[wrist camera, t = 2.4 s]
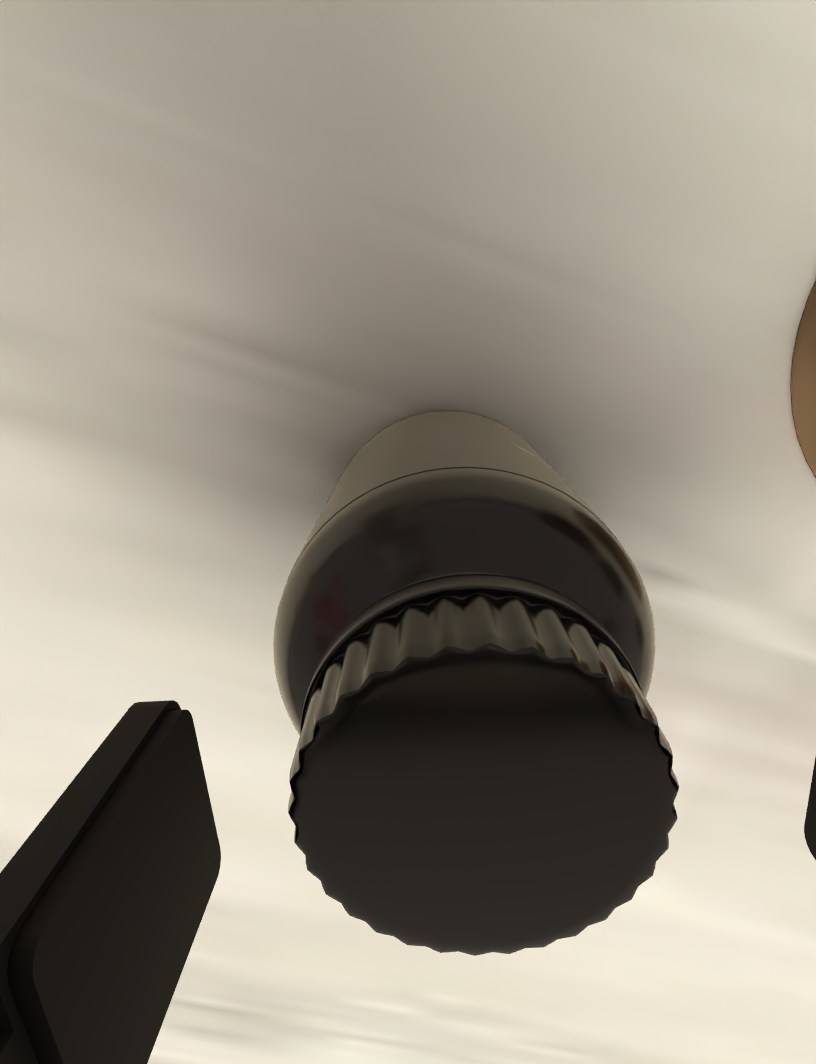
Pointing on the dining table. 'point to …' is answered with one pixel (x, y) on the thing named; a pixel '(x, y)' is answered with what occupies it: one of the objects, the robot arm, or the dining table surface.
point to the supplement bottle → (470, 696)
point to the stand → (806, 382)
